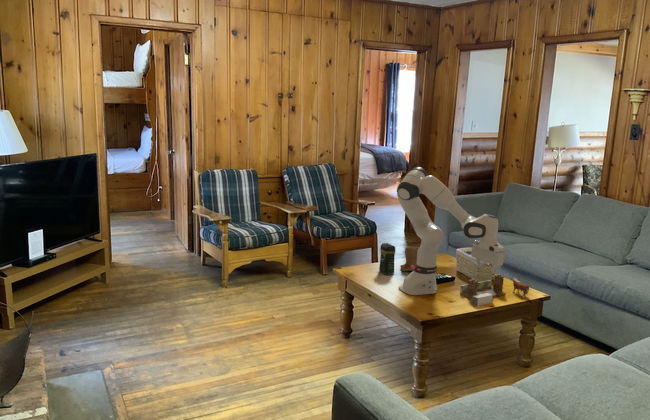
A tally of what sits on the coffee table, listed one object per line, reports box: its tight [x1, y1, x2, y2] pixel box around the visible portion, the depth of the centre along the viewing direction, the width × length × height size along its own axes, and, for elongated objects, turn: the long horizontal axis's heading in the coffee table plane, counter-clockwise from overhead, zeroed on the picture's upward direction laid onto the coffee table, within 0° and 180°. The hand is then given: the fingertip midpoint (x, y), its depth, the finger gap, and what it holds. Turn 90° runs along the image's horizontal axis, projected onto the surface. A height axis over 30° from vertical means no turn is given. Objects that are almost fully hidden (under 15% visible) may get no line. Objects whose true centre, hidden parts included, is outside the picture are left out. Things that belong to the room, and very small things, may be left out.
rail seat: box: [459, 273, 506, 301], centre depth 307 cm, size 23×12×11 cm, turn 119°
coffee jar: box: [378, 242, 396, 275], centre depth 338 cm, size 10×8×19 cm
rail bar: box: [471, 293, 494, 307], centre depth 294 cm, size 12×4×4 cm, turn 119°
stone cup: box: [400, 246, 420, 272], centre depth 346 cm, size 15×12×15 cm
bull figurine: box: [510, 277, 530, 298], centre depth 310 cm, size 4×13×8 cm, turn 21°
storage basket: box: [455, 247, 498, 282], centre depth 339 cm, size 24×16×15 cm
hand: (485, 269), depth 291 cm, fingers open, 8 cm apart
